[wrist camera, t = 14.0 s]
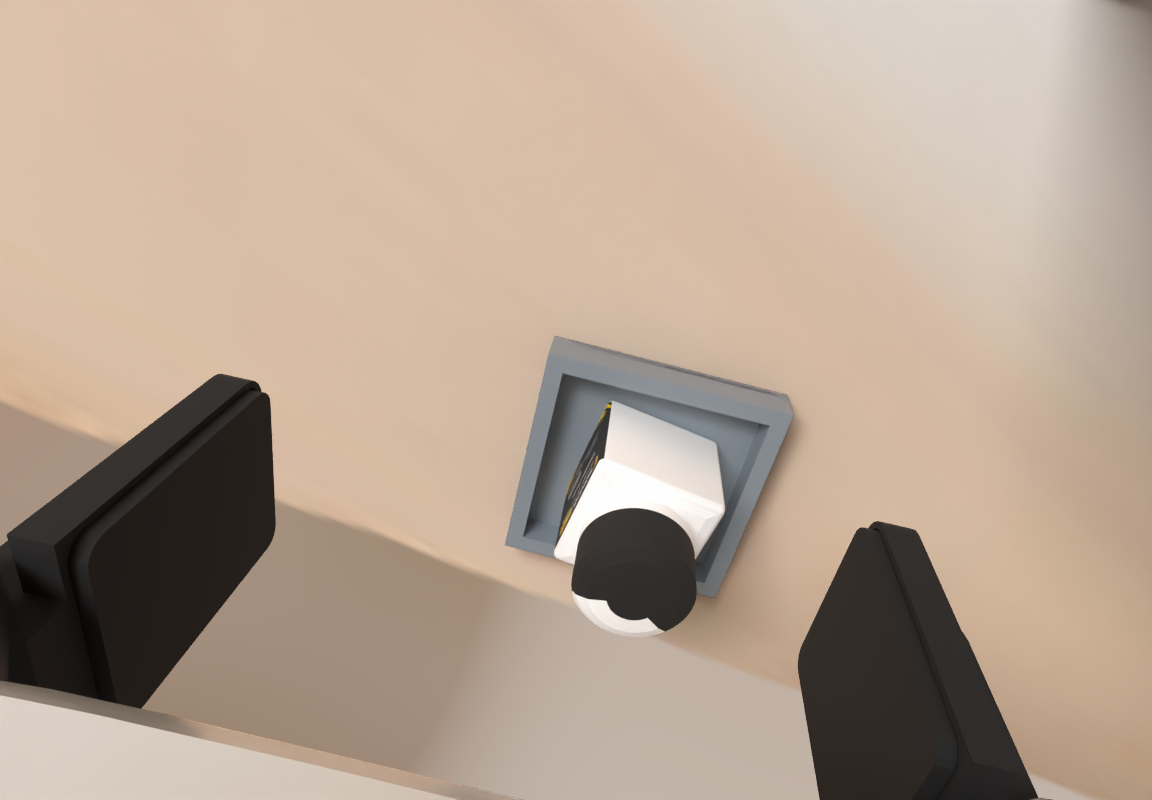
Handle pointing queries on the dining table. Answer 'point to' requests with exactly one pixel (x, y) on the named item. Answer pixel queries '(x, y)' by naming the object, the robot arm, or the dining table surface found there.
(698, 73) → the dining table surface
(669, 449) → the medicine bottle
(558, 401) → the tray
